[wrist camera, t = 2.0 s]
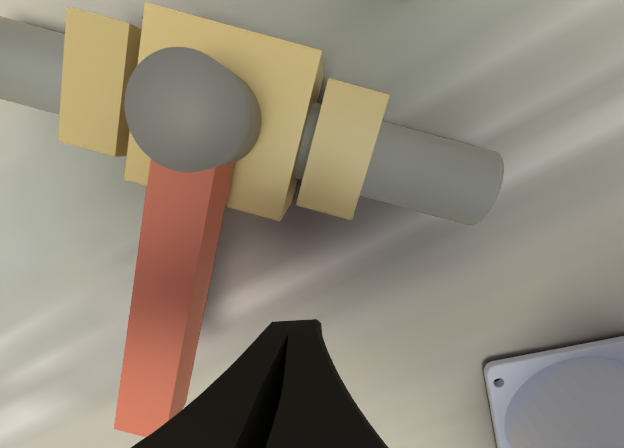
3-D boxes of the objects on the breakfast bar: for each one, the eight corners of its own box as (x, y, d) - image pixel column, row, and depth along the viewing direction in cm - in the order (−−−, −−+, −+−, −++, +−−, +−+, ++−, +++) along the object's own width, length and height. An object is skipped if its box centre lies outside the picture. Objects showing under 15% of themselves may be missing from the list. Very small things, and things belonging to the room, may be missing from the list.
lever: (176, 56, 10) (132, 31, 8) (270, 82, 10) (253, 65, 8) (129, 385, 13) (87, 436, 11) (201, 404, 13) (174, 459, 11)
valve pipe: (489, 119, 14) (545, 112, 10) (442, 242, 15) (477, 274, 12) (25, -8, 14) (-87, -62, 10) (20, 128, 15) (-80, 124, 11)
